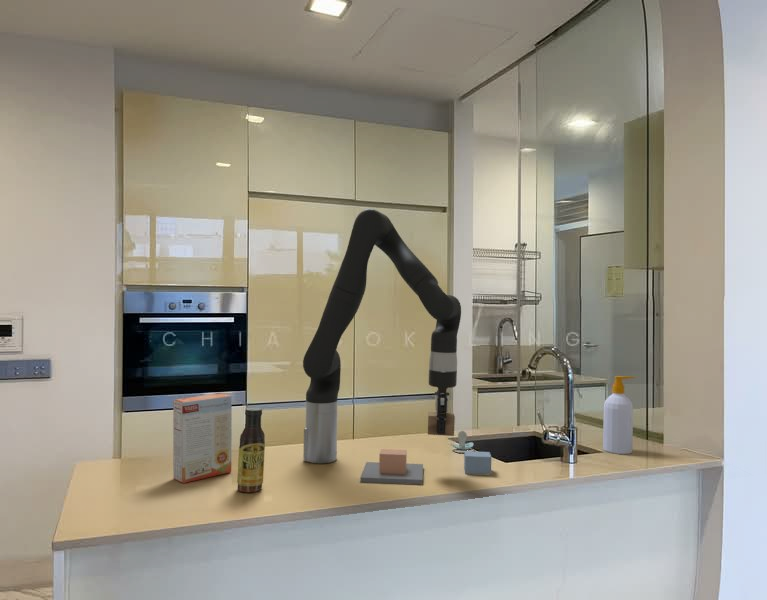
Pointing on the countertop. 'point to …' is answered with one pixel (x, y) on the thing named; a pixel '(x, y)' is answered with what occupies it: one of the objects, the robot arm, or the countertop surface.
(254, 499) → the countertop surface
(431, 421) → the walnut block
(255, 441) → the sauce bottle
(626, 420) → the soap bottle
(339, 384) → the robot arm
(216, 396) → the cracker box
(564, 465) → the countertop surface
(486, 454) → the slate block
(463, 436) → the pacifier
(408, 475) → the baseplate
